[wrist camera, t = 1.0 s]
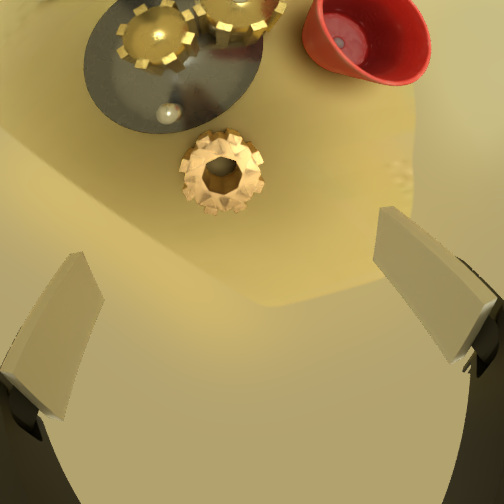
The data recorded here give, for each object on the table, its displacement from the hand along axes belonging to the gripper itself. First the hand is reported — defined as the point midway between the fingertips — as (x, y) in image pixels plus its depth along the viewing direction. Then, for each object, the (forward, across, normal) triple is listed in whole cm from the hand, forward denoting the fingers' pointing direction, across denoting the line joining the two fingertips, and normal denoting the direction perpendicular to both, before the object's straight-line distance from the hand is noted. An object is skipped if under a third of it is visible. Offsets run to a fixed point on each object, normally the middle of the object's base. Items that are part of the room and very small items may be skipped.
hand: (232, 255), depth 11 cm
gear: (+19, 0, 0) cm, 19 cm away
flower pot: (+19, +13, +13) cm, 26 cm away
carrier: (+19, -4, +13) cm, 23 cm away
